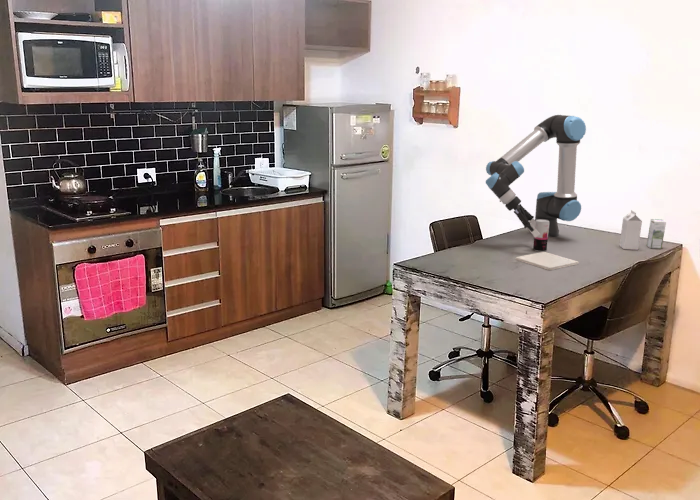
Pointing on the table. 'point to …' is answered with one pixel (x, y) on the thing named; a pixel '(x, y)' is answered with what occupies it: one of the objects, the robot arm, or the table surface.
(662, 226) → the syrup box
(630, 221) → the milk carton
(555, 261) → the ceramic tile
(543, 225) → the beverage can
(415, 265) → the table surface
